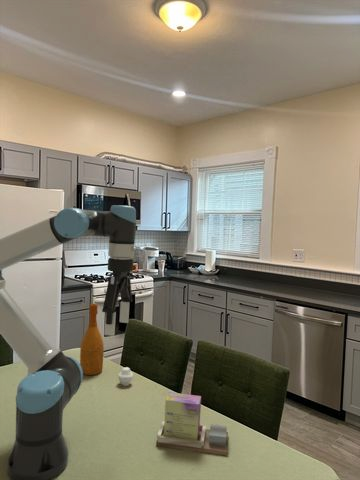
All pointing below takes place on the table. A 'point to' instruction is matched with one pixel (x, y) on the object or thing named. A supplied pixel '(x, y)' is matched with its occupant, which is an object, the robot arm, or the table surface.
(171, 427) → the box
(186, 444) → the shallow tray
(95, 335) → the wine bottle
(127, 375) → the white ribbed rounded piece
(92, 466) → the table surface
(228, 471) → the table surface
